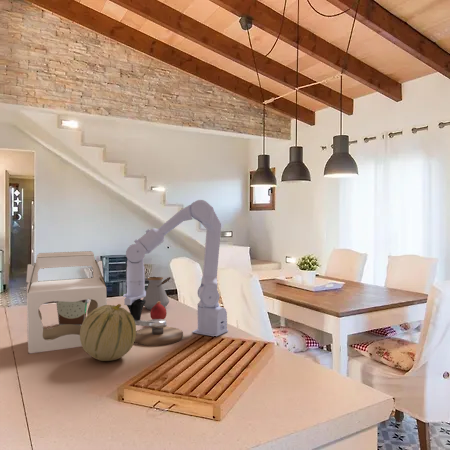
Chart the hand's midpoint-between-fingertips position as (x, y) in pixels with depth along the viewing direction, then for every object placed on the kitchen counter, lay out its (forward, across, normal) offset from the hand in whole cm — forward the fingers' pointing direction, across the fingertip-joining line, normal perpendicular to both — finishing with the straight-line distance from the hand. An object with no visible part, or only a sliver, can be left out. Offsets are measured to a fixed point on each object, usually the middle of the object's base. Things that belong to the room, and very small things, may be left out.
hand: (135, 322), depth 134 cm
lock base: (+4, +2, +8) cm, 9 cm away
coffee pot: (+4, -37, -3) cm, 38 cm away
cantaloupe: (+4, +23, +1) cm, 23 cm away
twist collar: (0, +1, +3) cm, 4 cm away
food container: (+5, -13, -28) cm, 32 cm away
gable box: (+5, +10, -19) cm, 21 cm away
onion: (+4, -16, +3) cm, 17 cm away
